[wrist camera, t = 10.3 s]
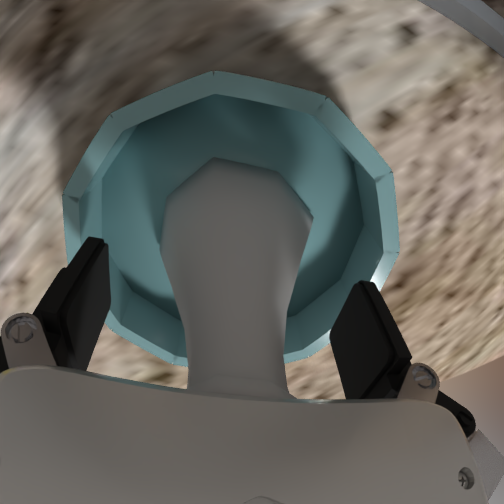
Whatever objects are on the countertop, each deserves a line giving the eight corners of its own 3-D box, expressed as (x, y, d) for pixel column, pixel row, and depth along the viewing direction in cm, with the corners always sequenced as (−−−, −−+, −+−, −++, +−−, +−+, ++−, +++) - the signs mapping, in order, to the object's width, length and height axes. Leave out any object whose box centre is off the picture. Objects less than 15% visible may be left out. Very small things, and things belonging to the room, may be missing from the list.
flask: (206, 127, 13) (147, 259, 4) (337, 209, 15) (433, 381, 7) (138, 251, 16) (73, 428, 7) (255, 308, 18) (269, 478, 10)
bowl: (406, 124, 14) (445, 141, 11) (317, 337, 21) (327, 378, 18) (104, 59, 11) (69, 60, 8) (99, 306, 19) (82, 346, 16)
